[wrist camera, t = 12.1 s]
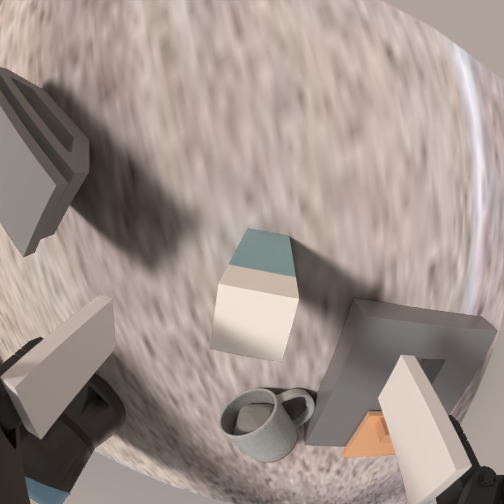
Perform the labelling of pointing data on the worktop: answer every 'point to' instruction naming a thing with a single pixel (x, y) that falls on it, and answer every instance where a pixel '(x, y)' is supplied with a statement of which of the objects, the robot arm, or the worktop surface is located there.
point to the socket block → (393, 362)
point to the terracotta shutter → (370, 438)
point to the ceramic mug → (264, 423)
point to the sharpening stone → (36, 161)
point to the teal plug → (256, 298)
